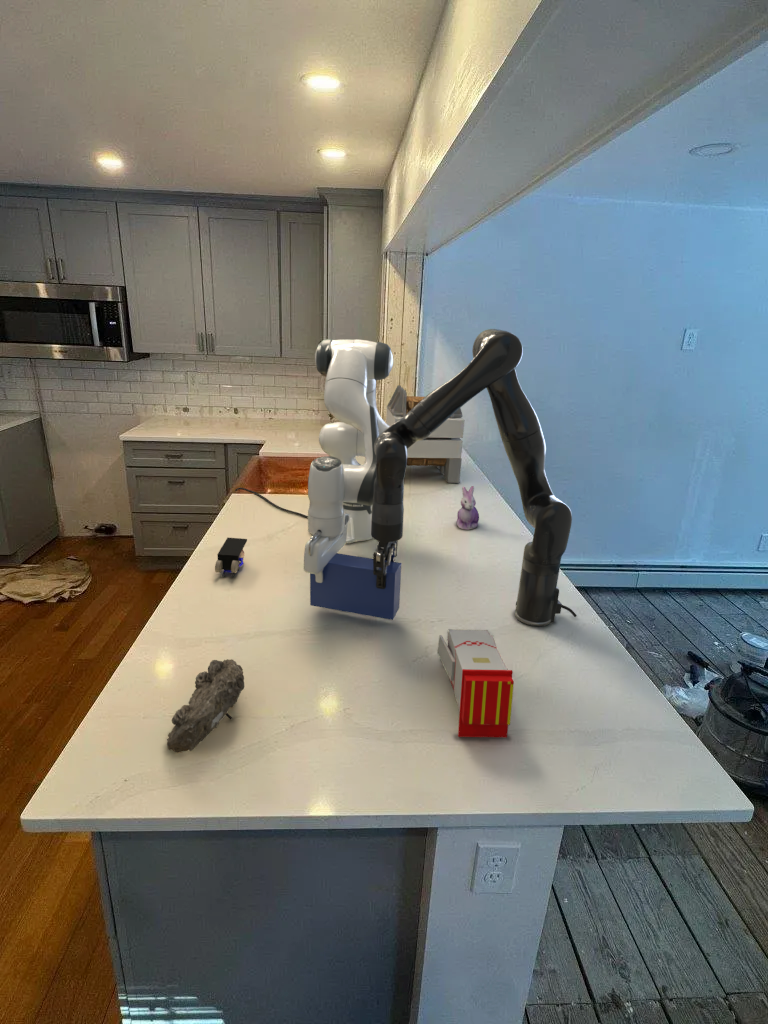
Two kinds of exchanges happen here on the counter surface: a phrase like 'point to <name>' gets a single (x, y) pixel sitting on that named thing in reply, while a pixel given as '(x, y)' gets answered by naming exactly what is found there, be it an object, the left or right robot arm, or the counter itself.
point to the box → (357, 587)
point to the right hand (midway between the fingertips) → (384, 581)
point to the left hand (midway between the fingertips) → (325, 574)
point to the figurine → (468, 510)
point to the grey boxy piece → (431, 438)
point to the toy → (478, 682)
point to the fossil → (206, 705)
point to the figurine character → (230, 556)
